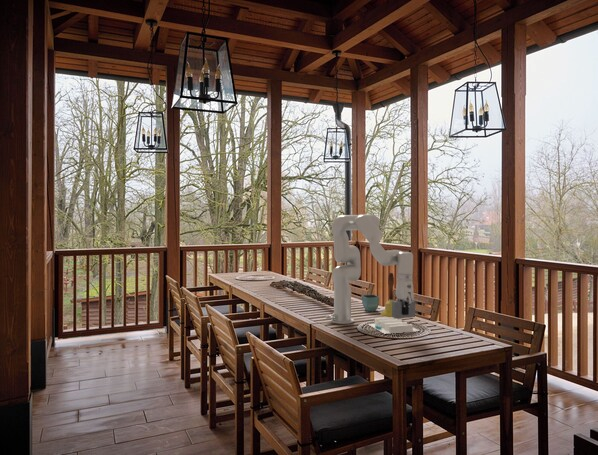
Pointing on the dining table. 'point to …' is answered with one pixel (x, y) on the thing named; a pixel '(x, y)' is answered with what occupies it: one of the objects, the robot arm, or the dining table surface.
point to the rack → (392, 325)
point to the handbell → (388, 305)
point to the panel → (398, 309)
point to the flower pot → (370, 302)
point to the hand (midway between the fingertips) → (403, 313)
